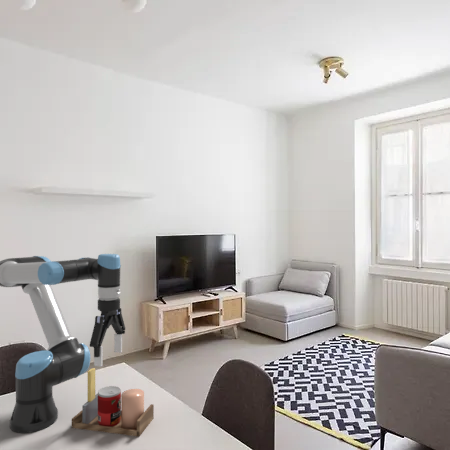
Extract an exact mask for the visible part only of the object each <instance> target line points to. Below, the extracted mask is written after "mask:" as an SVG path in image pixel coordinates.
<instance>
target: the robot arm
mask: <svg viewBox="0 0 450 450" xmlns="http://www.w3.org/2000/svg"><path fill="white" fill-rule="evenodd" d="M121 266H122V265H121V256H120V255H119V254H118V253H101V254H99V255H98V256H97V258H94V257H93V258H92V257H81V258H78V259H69V260H57V261H56V260H55V261H54V260H53V261H52V260H51V259H50V258H48V257H47V256H44V255H41V256H39V255H33V256H27V257H26V256H25V257H12V258H5V259H2V260H0V287H3V288H17V287H21V288H22V291H23V293H25V294H27V295H29V298H30V301H31V303H32V306H33V308H34V310H35V313H36V314H35V315H36V317H37V318H38V322H39V324H40V326H41V329H42V331H43V334H44V337H45V339H46V342H47V344H48V348H47V350H45V349H44V350H43V349H42V350H39V351H34V352H30V353H28V354H25V355H23V356H21V358H19V360H18V361H17V363H16V365H15V371H14V372H15V373H14V376H15V405H14V408H13V410H12V413H11V416H10V420H9V428H10V430H11V431H13V432H15V433H19V434H20V433H21V434H25V433H34V432H39V431H40V430H41V431H42V430H43V429H46V428H48V427H50V426H51V425H53V424H54V423H55V422H57V420H58V417H59V416H58V415H59V412H58V411H59V410H58V408H57V406H56V403H55V400H54V397H53V396H54V395H53V387H54V386H56V385H60V384H63V383H64V382H67V381H69V380H73V379H77V378H78V377H80V376H82V375H84V374H85V373H86V372H88V371H89V368H90V365H91V364H90V363H91V353H90V348H89V347H91V348H93V366H94V367H103V362H104V361H103V357H104V356H103V353H104V352H103V349H104V348H103V345H102V344H103V342H104V339H105V336H106V332H107V330H108V329H109V328H110V327H112V329H113V330H114V332H115V334H113V335H114V337H113V338H114V341H113V343H114V346H113V347H114V348H113V352H114V353H122V352H123V335H124V334H126V326H125V321H124V318H123V313H122V308H121V298H120V296H121V291H122V290H121ZM86 280H96V281H97V298H98V299H97V310H98V311H99V312H100V315H96V316H95V317H94V326H93V330H92V333H91V334H92V335H91V338H90V341H89V347H88V345H86V344H85V343H82V342H81V343H80V342H79V340H78V338H77V337H75V336H73V335H72V333H71V332H70V329H69V327H68V324H67V323H66V320H65V317H64V314H63V313H62V310H61V307H60V305H59V303H58V300H57V298H56V295H55V293H54V291H53V288H52V286H54V285H59V284H65V283H71V282H79V281H86Z"/></svg>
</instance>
